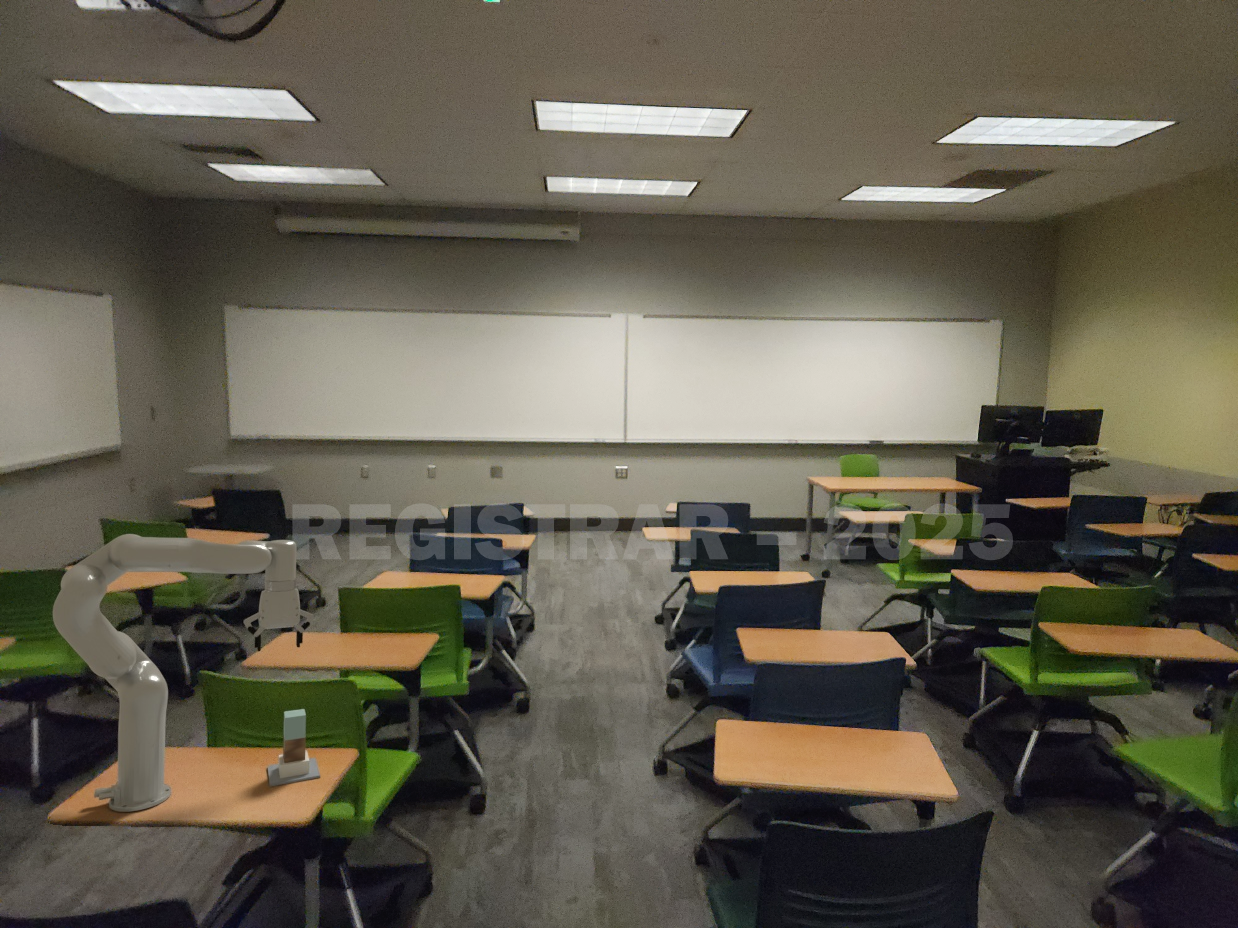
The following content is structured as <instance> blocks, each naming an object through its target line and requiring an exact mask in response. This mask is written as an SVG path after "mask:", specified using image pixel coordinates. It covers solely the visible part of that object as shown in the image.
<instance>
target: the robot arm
mask: <svg viewBox="0 0 1238 928" xmlns="http://www.w3.org/2000/svg"><path fill="white" fill-rule="evenodd" d="M297 551H298V550H297V543H296V542H295V541H293V540H292V539H291V540H289V539H276V540H275V539H274V540H271V541H268V540H266V541H264V540H254V539H253V540H249V539H247V540H243V541H241V542H238V543H237V544H233V543H232V544H231V543H220V542H219V543H218V542H212V541H208V540H205V539H204V540H203V539H198V538H191V537H156V536H155V537H154V536H141V535H139V534H134V533H126V534H122V535H119V536H117V537H115V538H113V539H112V540H111V541H109V542H108V543H106V544H104V545H103V546H102V547H100V548H98V549H97V550H95V551H94V552H92V553H91V554H90V555H88V556H87V557H85V558H83V559H82V560H80V561H79V562H78V563H76V564H75V565H73V566H71V568H69V569H68V570H67V571H66V572H65V573H64V575H62V577H61V581H60V591H59V593H58V594H57V596H56V599H55V600H54V603H53V607H52V619H53V623H54V626H55V628H56V630H57V631H58V633H59V634H60V635H61V637H62V638H63V639H64V640H65V641H66V642H67V643H68V644H69V646H71V648H72V649H73V650H74V651H75V653H77V654H78V656H79V657H80V658H81V659H82V661H84V662H85V663H86V664H87V666H89V668H90V670H91V671H92V672H93V673H94V674H96V675H97V676H98V677H101V678H103V679H104V680H106V682H108V683H109V685H111V686H112V688H113V689H115V690H116V692H117V695H118V699H119V714H118V715H119V716H118V729H117V730H118V732H117V733H118V734H117V741H118V745H117V749H118V750H117V781H116V783H115V784H113V785H110V786H108V787H101V788H95V789H94V797H93V798H96V799H97V798H98V800H99V801H103V800H108V799H109V800H108V807H109V809H110V810H112V811H114V812H119V813H126V812H127V813H129V812H136V811H142V810H146V809H148V808H152V807H155V806H158V805H159V804H161V803H163V802H164V801H166V800H167V799H168V798H170V796H171V795H172V787H171V785H168V784H166V783H165V763H166V762H165V761H166V760H165V759H166V723H167V721H166V720H167V717H166V716H167V706H168V700H169V689H168V683H167V681H166V679H165V677H164V675H163V674H162V672H161V671H160V669H159V668H158V666H157V665H156V664H155V663H154V662H153V661H152V660H151V658H149V657H148V655H147V654H146V653H145V652H144V651H143V650H142V649H141V648H140V647H139V645H137V644H136V642H135V641H134V640H133V639H132V638H131V637H130V636H129V635H128V634H126V633H124V632H123V631H119V630H117V629H116V628H115V627H114V626H113V624H112V623H111V622H110V621H109V619H107V617H106V616H105V615H104V614H103V613H102V612H101V608H100V604H101V602H102V600H103V598H104V597H105V596H106V594H107V591H108V587H109V586H110V585H111V584H112V583H114V582H115V581H116V580H118V579H119V578H121V577H122V576H123V575H125V574H126V573H195V574H196V573H198V574H222V575H223V574H224V575H226V574H227V575H230V574H232V575H234V574H235V575H237V574H238V575H242V574H246V575H247V574H258V573H261V572H263V571H264V572H265V576H264V590H262V591H261V593H260V598H259V605H258V612H257V613H255V614H253V615H251V616H249V617H247V618H244V619H243V624H244V625H245V628H246V629H247V631H248V632H249V633H250V634H252V635H253V636H254V648H257V652H260V651H262V648H261V646H262V634H261V633H263V632H264V630H269V629H270V630H271V629H282V628H283V629H284V628H293V627H294V628H295V629H296V630H297V631H296V635H295V636H296V638H295V640H296V642H295V645H296V648H301V644H303V642H304V641H303V637H304V636H303V635H304V632H305V630H307V629H308V628H309V627H310V626H311V623H312V622H313V620H314V619H315V615H314V613H311V612H308V611H305V610H303V609H301V602H300V594H299V589H298V588H297V587H298V586H302V579H301V580H299V579H297V578H296V577H297ZM301 616H302V617H304V618H307V619H306V621H304V622H303V624H301V623H300V622H301ZM256 620H257V621H258V627H254V626H253V625H252V624H251V623H252V622H254V621H256Z"/></svg>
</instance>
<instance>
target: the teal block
mask: <svg viewBox="0 0 1238 928" xmlns="http://www.w3.org/2000/svg"><path fill="white" fill-rule="evenodd" d="M306 726H307V714H306V710H305V708H301V709H293V710H286V711H283V739H284V740H285V741H286V740H292V739H299V738H305V736H306V734H307V733H306Z"/></svg>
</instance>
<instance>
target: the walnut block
mask: <svg viewBox="0 0 1238 928" xmlns="http://www.w3.org/2000/svg"><path fill="white" fill-rule="evenodd" d="M306 738H307V735H305V738H299V739H292V740H286V741H285V740H284V738H283V743H282V744H283V745H282V746H283V747H282V754H283V758H284V763H289V762H295V761H301V760H305V751H306V742H307V741H306V740H307V739H306Z"/></svg>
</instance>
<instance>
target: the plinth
mask: <svg viewBox="0 0 1238 928" xmlns="http://www.w3.org/2000/svg"><path fill="white" fill-rule="evenodd" d="M267 774H268V783H269V784H268V785H269V788H270V787H277V786H282V785H287V784H292V783H299V782H303V781H309V780H314V779H319V778H321V773H320V768H319V765H318V761H317V758H316V757H315V756H314V757H311V758H310V756H309V753H308V750H306V749H305V760H301V761H295V762H289V763H284V758H283V753H282V754H279V755H278V763H276V764H269V765H267Z"/></svg>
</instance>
